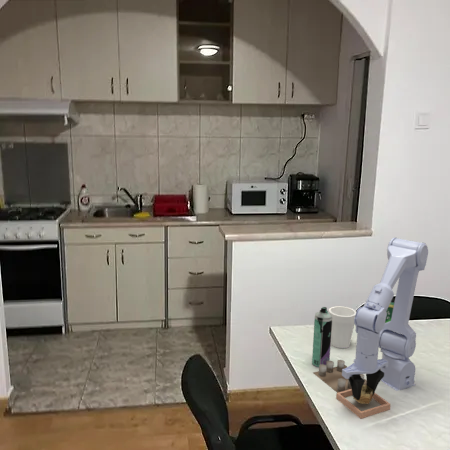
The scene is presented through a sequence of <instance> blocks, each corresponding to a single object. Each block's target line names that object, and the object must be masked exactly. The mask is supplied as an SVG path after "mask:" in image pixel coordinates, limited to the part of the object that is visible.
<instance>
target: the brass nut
mask: <svg viewBox="0 0 450 450" xmlns="http://www.w3.org/2000/svg"><path fill="white" fill-rule="evenodd" d="M372 393H373V390H372V389H371V388H370V387H368V386H367V385H363V386H362V390H361V397H360V399H359V400H357V399H355V398H354V397H353V396H352V397H353V400H355V401H356V402H357V403H358V404H363V405H370V403H371V402H372V400H373V398H372Z"/></svg>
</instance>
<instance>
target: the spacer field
mask: <svg viewBox="0 0 450 450" xmlns="http://www.w3.org/2000/svg"><path fill="white" fill-rule="evenodd" d="M345 363H346V362H345V361H344V360H343V359H337V362H336V364H337V365H336V366H334V361H332V360H330V361H327V362H326V365H324V364H320V365H319V368H318V370H317V371H314V372H312V374H313V375H315V377H317V378H318V379H320V380H321V381H322V382H323V383H325V384H326V385H327V386H328V387H329V388H330V389H332V390H333V391H334V392H335V393H339V392H342V391H346V390H349V389H351V385H350V382H349V380H348V379H346V378H344V377H343V376H342V369H345V368H347V367H348V366H347V365H345ZM360 376H361V378H362V379H364V380H365V382H364V384H363V385H366V382H367V379H366V378H365V374H360Z"/></svg>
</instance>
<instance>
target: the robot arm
mask: <svg viewBox="0 0 450 450" xmlns="http://www.w3.org/2000/svg"><path fill="white" fill-rule="evenodd" d="M386 251H387V254H386V255H387V264H386V266H385V268H384V271H383V274H382V277H381V280H380V282H379V283H377V284H374V285H373V286H372V289H371V290H370V293H369V295H368V296H367V298H366V300H365V303H364V304H363V306H361V307H358V308H357V310H356V314H355V318H354V327H355V333H356V334H357V335H356V336H357V337H356V347H355V358H354V359H353V363H351V364H350V365H348V366H347V368H345V369H342V376H343V377H344V378H346V379H348V380H349V382H350V385H351V389H352V394H353V395H352V397H354V398H355V399H357V400H359V399H360V397H361V390H362V386H363V384H364V382H365V380H364V379H366V380H367V382H366V385H367V386H368V387H370V388H371V389H372V390H373V393H372V396H373V395H374V393H376V390H377V388H378V385H379V384H380V382H383V383H384V384H385V385H387V386H388V387H390V388H391V389H393V390H394V391H396V392H397V391H401V390H404V389H408V388H412V387H415V386H416V383H415V378H416V377H415V376H416V369H417V368H416V365H415V363H414V362H413V361H411V359H410V358H411V357H412V356H413V354H414V353H415V350H416V345H417V343H416V341H417V340H416V339H417V333H416V331H415V330H414V329H413V328H412V327H411V326H410V324H409V322H410V317H411V312H412V306H413V301H414V296H415V292H416V291H415V290H416V286H417V281H418V277H419V272H420V271H425V269H426V266H427V261H428V255H429V248H428V245H427V244H426V242H420V241H413V240H409V239H404V238H399V237H398V238H397V237H395V236H394V237H393V238H391V239H390V240H389V242H388V243H387V249H386ZM397 283H398V284H397ZM396 284H397V288H396V293H394V291H393V288H394V287H395V285H396ZM394 296H395V299H394V302H393V303H394V308H393V313H392V318H391V321H389V322H387V323H385V320H386V316H387V313H386V311H387V309H388V307H389V305H390V302H392V301H393V298H394ZM379 349H380V353H381V354H382V356H381V358H380V359H379V358H378V357H379ZM360 374H363V375H365V376H366V377H365V378H364V379H362V378H361V376H360ZM355 399H354V400H355Z"/></svg>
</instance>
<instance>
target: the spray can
mask: <svg viewBox="0 0 450 450" xmlns="http://www.w3.org/2000/svg"><path fill="white" fill-rule="evenodd" d="M328 311H329V310H328V309H327V307H326V306H322V307H321V308H320V310H319V311H317V312H315V314H314V321H313V322H314V324H313V340H312V341H313V342H312V356H311V357H312V358H311V365H312V366H313V367H315V368H318V369H319V365H320V364H324V365H326V362H327V361H331V360H330V356H331V346H332V345H331V331H332V315H331V314H330V313H328Z"/></svg>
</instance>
